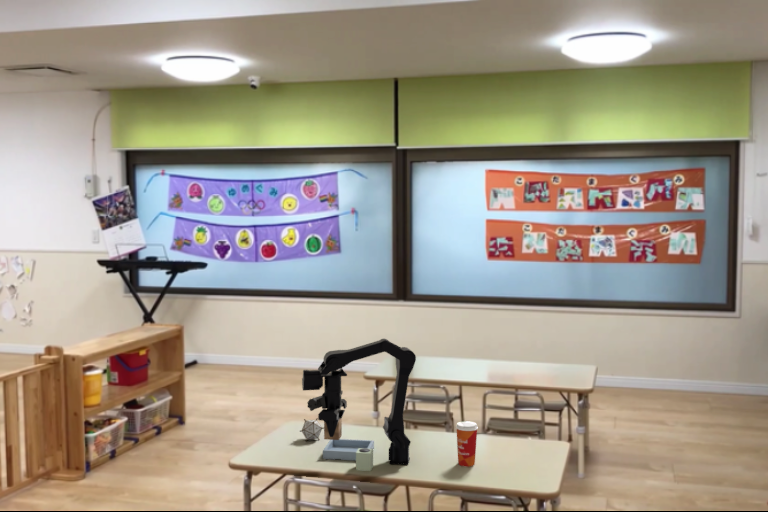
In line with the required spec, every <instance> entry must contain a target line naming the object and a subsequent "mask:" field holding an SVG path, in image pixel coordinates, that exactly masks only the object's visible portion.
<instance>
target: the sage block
mask: <svg viewBox="0 0 768 512" xmlns="http://www.w3.org/2000/svg"><path fill="white" fill-rule="evenodd" d="M373 467H374V450H373V449H368V448H358V450H357V452H356V461H355V471H363V472H365V471H366V472H367V471H368V472H371V471H372V469H373Z"/></svg>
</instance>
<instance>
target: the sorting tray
mask: <svg viewBox="0 0 768 512" xmlns="http://www.w3.org/2000/svg"><path fill="white" fill-rule="evenodd" d="M358 448H368V449H374V450H375V440H373V439H372V440H370V439H349V438H340V439H339V440H329V441H328V443H327V444H326V445H325V447H324V448H323V449H322V460H335V459H341V461H343V460H344V461H355V462H356V452H357V450H358Z"/></svg>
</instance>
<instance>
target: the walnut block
mask: <svg viewBox="0 0 768 512" xmlns="http://www.w3.org/2000/svg"><path fill="white" fill-rule="evenodd" d="M342 420H343V417H342V418H339V421H338V424H337V427H336V430H335V433H334V435H333V437H330V436H329V432H328V428H327V425H326V422H324V421H323V428H324V429H323V431H324V432H323V434H324V435H323V439H324V440H327V441H328V440H329V441H330V440H339V439H341V437H342V434H343V433H342V432H343V431H342V425H343V423H342V422H343V421H342Z"/></svg>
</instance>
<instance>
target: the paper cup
mask: <svg viewBox="0 0 768 512" xmlns="http://www.w3.org/2000/svg"><path fill="white" fill-rule="evenodd" d="M478 429H479V427H478V424H477V423H476V422H475V421H469V420H468V421H467V420H466V421H459V422H458V421H457V423H456V425H455V430H456V444H457V445H456V446H457V461H458V462H457V463H458V466H461V467H464V468H465V467H466V468H469V467H474V466H475V464H476V454H477V453H476V451H477V450H476V449H477V448H476V447H477V438H478V437H477V435H478V434H477V433H478ZM473 465H474V466H473Z"/></svg>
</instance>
